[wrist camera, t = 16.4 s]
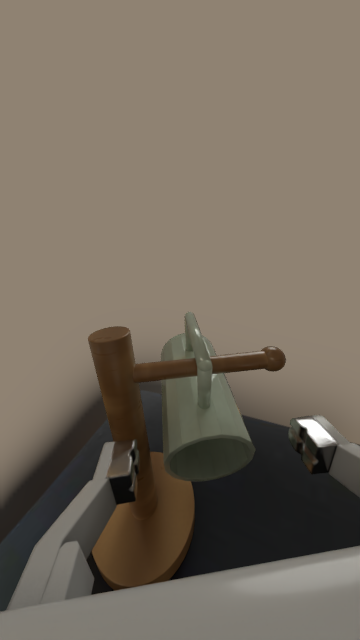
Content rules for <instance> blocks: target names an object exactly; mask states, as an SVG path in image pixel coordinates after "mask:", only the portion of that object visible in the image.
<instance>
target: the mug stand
mask: <svg viewBox="0 0 360 640" xmlns="http://www.w3.org/2000/svg"><path fill="white" fill-rule="evenodd" d="M88 341H89V345H90V349H91V353H92V357H93V361H94V365H95V369H96V373H97V377H98V381H99V385H100V389H101V393H102V397H103V401H104V405H105V409H106V413H107V417H108V421H109V425H110V429H111V433H112V437H113V441H114V442H115V441H124V440H134V439H136V440H137V449H138V450H139V455H140V468H139V474H138V475H137V482H138V487H137V496H136V501H135V502H129V503H124V504H119V505H117V507H116V509H115V510H114V512H113V514H112V516H111V517H110V519H109V521H108V523H107V525H106V526H105V528H104V530H103V532H102V533H101V535H100V537H99V539H98V540H97V542H96V544H95V546H94V547H93V549H92V554H93V557H94V560H95V562H96V565H97V567H98V569H99V572H100V574H101V575H102V577H103V579H104V580H105V582H106V583H107V584H108V585H109V586H110V587H111V588H112V589H114V590H115V591H116V590H121V589H127V588H132V587H138V586H143V585H148V584H154V583H159V582H165V581H168V580H169V579H170V578H171V577H172V576H173V575H174V573H175V572H176V571H177V570H178V568H179V567H180V565H181V563H182V562H183V560H184V558H185V556H186V554H187V551H188V549H189V546H190V543H191V540H192V536H193V531H194V523H195V504H194V493H193V488H192V484H191V481H184V480H180V479H176V478H173V477H172V476H171V475H169V474H168V473H167V472H166V471H165V467H164V459H163V453H160V452H150V449H149V443H148V437H147V431H146V425H145V419H144V413H143V407H142V401H141V395H140V389H139V383H140V382H149V381H158V380H167V379H176V378H185V377H194V376H197V363H196V360H195V358H189V359H179V360H170V361H160V362H152V363H142V364H135V359H134V353H133V346H132V340H131V334H130V330H129V329H128V328H126V327H109V328H104V329H101V330H98V331H96V332H94V333H92V334H91V335H90V336H89V337H88ZM209 357H210V359H211V362H212V366H213V367H212V374H221V373H230V372H238V371H247V370H256V369H266V370H268V371H278V370H280V369H282V368H283V367H284V365H285V362H286V358H285V355H284V353H283V352H282V351H281V350H280V349H279V348H277V347H272V346H269V347H265V348H263V349H262V350H261V351H256V352H246V353H237V354H227V355H218V356H209Z"/></svg>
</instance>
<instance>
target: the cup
mask: <svg viewBox="0 0 360 640" xmlns="http://www.w3.org/2000/svg"><path fill="white" fill-rule="evenodd" d="M209 356H217V355H216V353H215V351H214V349H213V346H212V344H211V343H210V341H209V340H208V339H207V338H206V337H204V336H202V335H201V332H200V329H199V327H198V324H197V321H196V318H195V316H194V314H193V313H191V312H188V313H186V314H185V333H183V334H180V335H177V336H175V337H173V338H172V339H170V340H169V341H168V342H167V343H166V344H165V346H164V347H163V349H162V354H161V361H170V360H179V359H189V358H195V360H196V363H197V376H194V377H185V378H176V379H167V380H162V418H163V459H164V467H165V471H166V472H167V473H168V474H169V475H171V476H172V477H173V478H176V479H180V480H184V481H207V480H213V479H218V478H221V477H224V476H227V475H230V474H233V473H234V472H236V471H238V470H240V469H242V468H243V467H245V466H246V465H247V464H248V463H249V462H250V461H251V460H252V459H253V456H254V453H255V447H254V444H253V442H252V440H251V437H250V435H249V432H248V430H247V428H246V425H245V423H244V420H243V418H242V415H241V413H240V411H239V408H238V406H237V403H236V401H235V399H234V396H233V394H232V391H231V389H230V387H229V384H228V382H227V379H226V377H225V375H224V373H221V374H212V367H213V366H212V362H211V359H210V357H209Z"/></svg>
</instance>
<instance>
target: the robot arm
mask: <svg viewBox="0 0 360 640" xmlns="http://www.w3.org/2000/svg"><path fill="white" fill-rule="evenodd" d="M290 425H291V426H292V427H291V428H290V429H289V432H288V437H289V441H290V443H291V445H292V447H293V448H294V450H295V451H296V452H298V453H299V454H301V460H302V461H303V463H304V464H305V466H306V467H307V469H308V470H309V471H310V473H311V474H319V473H328V472H329V474H330V475H331V476H333V477H334V478H335V479H336V480H338V481H339V482H340V483H342V484H343V485H344V486H345V487H347V488H348V489H349V490H350V491H352V492H353V493H354V494H356V495H357V496H358V497H359V498H360V446H358V445H356V444H354V443H350V442H349V441H348V440H346V439H345V438H344V437H343V435H342V434H341V433H340V432H338V431H337V430H336V429H335V428H334V427H333V426H332V425H331V424H330V423H329V422H328V421H327V420H326V419H325V418H324V417H323V416H321V415H315V416H305V417H298V418H293V419H291V421H290ZM139 468H140V455H139V450H138V449H137V440H136V439H134V440H124V441H115V442H106V443H105V444H104V446H103V448H102V452H101V455H100V458H99V461H98V464H97V468H96V471H95V474H94V477H93V480H92V481H89V482H88V483H87V484H86V485H85V487H84V488H83V489H82V490H81V491H80V493H79V494H78V495H77V496H76V497H75V498H74V500H73V501H72V502H71V503H70V504H69V506H68V507H67V508H66V509H65V510H64V512H63V513H62V514H61V515H60V516H59V518H58V519H57V520H56V521H55V522H54V524H53V525H52V526H51V527H50V528H49V530H48V531H47V532H46V533H45V534H44V535H43V537H42V538H41V539H40V540H39V541H38V543H37V544H36V545H35V546H34V549H33V551H32V553H31V555H30V558H29V560H28V562H27V564H26V567H25V569H24V571H23V574H22V576H21V578H20V580H19V583H18V585H17V587H16V589H15V592H14V594H13V596H12V598H11V601H10V603H9V605H8V607H7V610H6V611H1V612H0V640H360V546H356V547H350V548H345V549H339V550H334V551H328V552H323V553H318V554H312V555H307V556H301V557H296V558H290V559H285V560H279V561H274V562H268V563H263V564H257V565H252V566H247V567H241V568H236V569H230V570H225V571H219V572H214V573H208V574H203V575H197V576H192V577H187V578H181V579H176V580H170V581H165V582H159V583H154V584H148V585H143V586H138V587H132V588H127V589H121V590H116V591H110V592H105V593H99V594H94V595H91V593H92V588H93V583H94V577H93V574H92V572H91V570H90V568H89V565H88V563H87V561H86V560H87V558H88V556H89V555H90V553H91V551H92V549H93V547H94V546H95V544H96V542H97V540H98V539H99V537H100V535H101V533H102V532H103V530H104V528H105V526H106V525H107V523H108V521H109V519H110V517H111V516H112V514H113V512H114V510H115V509H116V507H117V505H119V504H124V503H129V502H135V501H136V496H137V487H138V482H137V475H138V474H139Z"/></svg>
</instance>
